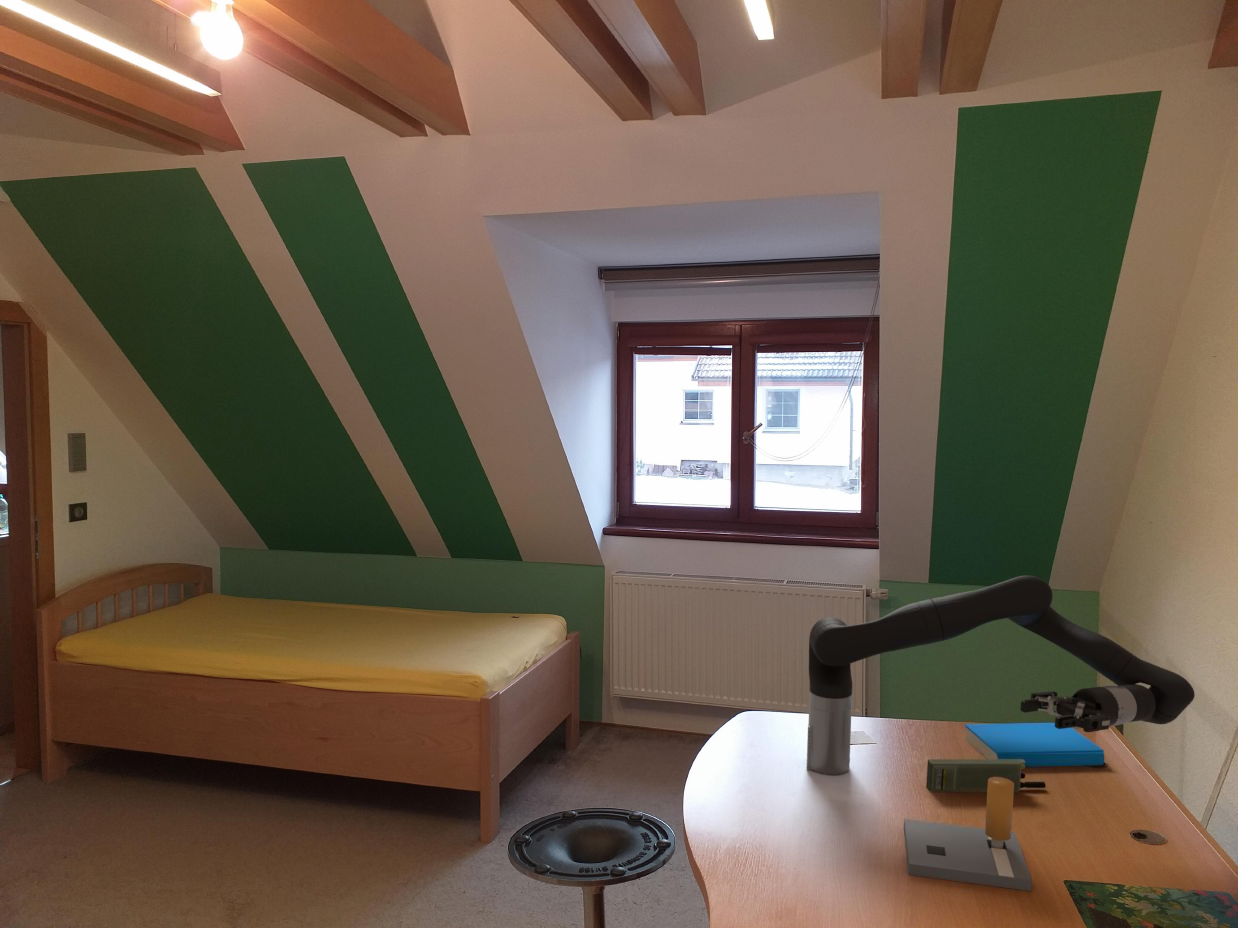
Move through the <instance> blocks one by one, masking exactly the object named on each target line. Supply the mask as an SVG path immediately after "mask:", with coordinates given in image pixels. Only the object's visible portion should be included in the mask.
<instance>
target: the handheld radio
mask: <svg viewBox="0 0 1238 928" xmlns="http://www.w3.org/2000/svg"><path fill="white" fill-rule="evenodd" d="M1022 763H1026V762H1025V761H1024V760H1023V759H987V758H977V759H976V758H975V759H974V758H966V759H965V758H961V759H959V758H957V759H956V758H952V759H950V758H946V759H945V758H942V759H941V758H939V759H938V758H936V759H935V758H928V759H927V768H926V783H925V784H926V787H925V789H927V790H928V791H929V792H933V793H935V792H937V793H939V792H942V793H943V792H944V793H946V792H949V793H950V792H951V793H952V792H956V793H957V792H958V793H959V792H962V793H963V792H964V793H966V792H967V793H970V792H971V793H972V792H977V793H978V792H980V793H981V792H982V793H985V792H986V793H987V789H988V779H989V778H991V777H1002V778H1006V779H1009V780H1011V781H1012V782H1013V783H1014V792H1016V793H1019V792H1020V790H1021V789H1023V788H1027V789H1045V788H1046V783H1045V781H1021V780H1022V779H1023V780H1024V779H1025V778H1026V774H1025V773H1024V772H1022V770H1025V768H1026V767H1025V765H1022Z"/></svg>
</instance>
